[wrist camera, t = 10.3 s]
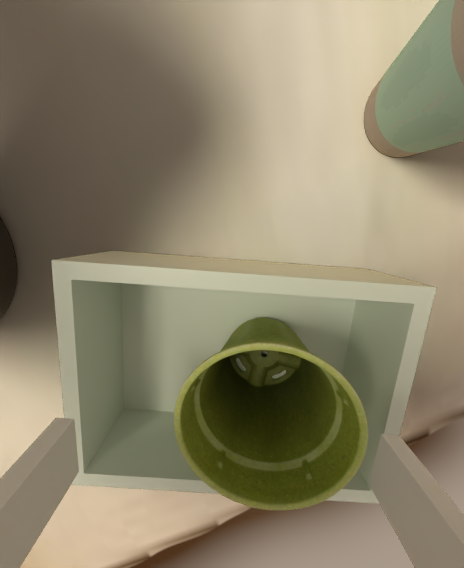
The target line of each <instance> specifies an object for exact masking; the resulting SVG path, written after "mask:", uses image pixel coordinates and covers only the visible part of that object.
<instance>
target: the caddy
mask: <svg viewBox="0 0 464 568" xmlns="http://www.w3.org/2000/svg"><path fill="white" fill-rule="evenodd" d="M51 264H52V277H53V289H54V301H55V313H56V325H57V337H58V350H59V362H60V374H61V386H62V398H63V411H64V418H68V419H75V431H76V442H77V454H78V466H79V472H78V474H77V476H76V477H75V479H74V480H73V482H72V484H71V485H81V486H97V487H114V488H131V489H147V490H164V491H180V492H197V493H214V494H220V493H218V492H217V491H216V490H213V489H212V488H210V487H209V486H208V485H207V484H206V483H204V482H203V481H202V480H201V479H200V478H199V477H198V476H197V475H196V473H195V472H194V471H193V470H192V469H191V467H190V466H189V464H188V462H187V461H186V460H185V458H184V456H183V455H182V453H181V450H180V448H179V446H178V443H177V440H176V436H175V431H174V410H175V405H176V401H177V398H178V395H179V392H180V390H181V388H182V386H183V384H184V383H185V381H186V380H187V378H188V377H189V376H190V374H191V373H192V372H193V371H194V370H195V369H196V368H197V367H198V366H199V365H200V364H201V363H202V362H203V361H205V360H206V359H208V358H209V357H211V356H212V355H214V354H216V353H218V352H220V351H221V349H222V348H223V346H224V345H225V343H226V342H227V341H228V339H229V338H230V336H231V335H232V334H233V332H234V331H235V330H236V329H237V328H238V327H239V326H240V325H241V324H243V323H244V322H246V321H248V320H251V319H255V318H262V317H263V318H270V319H274V320H278V321H281V322H283V323H285V324H286V325H288V326H289V327H290V328H291V329H292V330H293V331H294V332H295V333H296V335H297V336H298V337H299V339H300V340H301V341H302V343H303V344H304V345H305V346H306V348H307V349H308V350H309V352H310V353H313V354H314V355H316V356H318V357H320V358H322V359H323V360H325V361H326V362H328V363H329V364H330V365H332V366H333V367H334V368H335V369H337V370H338V371H339V372H340V373H341V374H342V375H343V376H344V377H345V378H346V379H347V381H348V382H349V383H350V385H351V386H352V387H353V389H354V390H355V392H356V393H357V395H358V397H359V399H360V401H361V403H362V406H363V408H364V411H365V414H366V418H367V423H368V443H367V448H366V453H365V456H364V458H363V461H362V464H361V466H360V467H359V469H358V471H357V472H356V474H355V475H354V477H353V478H352V479H351V480H350V481H349V482H348V483H347V485H346V486H345V487H343V488H342V489H341V490H340V491H339V492H337V493H336V494H335V495H334V496H332V497H330V498H329V499H327V500H331V501H346V502H363V503H379V502H378V500H377V498H376V496H375V494H374V493H373V491H372V489H371V487H370V485H369V482H370V478H371V474H372V470H373V466H374V462H375V458H376V454H377V450H378V446H379V442H380V438H381V434H389V435H399V436H400V432H401V428H402V424H403V420H404V416H405V412H406V408H407V404H408V400H409V396H410V392H411V388H412V384H413V380H414V376H415V372H416V368H417V364H418V360H419V356H420V352H421V348H422V344H423V340H424V336H425V332H426V328H427V324H428V320H429V316H430V312H431V308H432V304H433V301H434V297H435V293H436V289H437V287H433V286H429V285H426V284H422V283H418V282H414V281H411V280H407V279H403V278H399V277H396V276H392V275H388V274H384V273H381V272H377V271H373V270H369V269H361V268H347V267H333V266H319V265H305V264H291V263H277V262H263V261H249V260H236V259H222V258H208V257H194V256H180V255H166V254H152V253H138V252H124V251H109V252H102V253H95V254H88V255H81V256H75V257H68V258H61V259H54V260H51ZM261 355H262V356H263V357H266V356H267V355H268V353H267V352H266V351H264V352H262V353H261ZM236 362H237V364H238V366H239V368H240V369H241V370H243V371H246V368H245V367H244V366H243V365H242V363H241V361H240V359H239V358H236ZM285 373H286V370H284V371H283V372H281V373H279V374H276V375H274V376H272V378H275V379H276V378H279V377H281V376H283V375H284V374H285Z"/></svg>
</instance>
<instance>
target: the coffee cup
mask: <svg viewBox="0 0 464 568" xmlns="http://www.w3.org/2000/svg"><path fill="white" fill-rule="evenodd" d="M364 126H365V131H366V134H367V137H368V139H369V141H370V142H371V144H372V145H373V146H374V147H375V148H376V149H377V150H378V151H379V152H381V153H383V154H385V155H387V156H391V157H406V156H410V155H414V154H417V153H421V152H425V151H429V150H433V149H436V148H440V147H444V146H447V145H451V144H455V143H458V142H462V141H464V0H439V1H438V3H437V4H436V5H435V7H434V8H433V9H432V11H431V12H430V14H429V15H428V16H427V18H426V19H425V20H424V22H423V23H422V24H421V26H420V27H419V28H418V30H417V31H416V32H415V34H414V35H413V36H412V38H411V39H410V40H409V42H408V43H407V44H406V46H405V47H404V48H403V50H402V51H401V53H400V54H399V55H398V57H397V58H396V59H395V61H394V62H393V63H392V65H391V66H390V67H389V69H388V70H387V71H386V73H385V74H384V76H383V77H382V78H381V80H380V81H379V82H378V84H377V85H376V86H375V88H374V89H373V91H372V92H371V94H370V96H369V98H368V101H367V103H366V107H365V112H364Z"/></svg>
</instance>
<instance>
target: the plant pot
mask: <svg viewBox="0 0 464 568" xmlns="http://www.w3.org/2000/svg"><path fill="white" fill-rule="evenodd" d="M264 351H266V352H267V353H268V355H267V356H266V357H263V356H262V355H261V353H262V352H264ZM236 358H239V359H240V361H241V363H242V365H243V366H244V367H245V368H246V371H243V370H241V369H240V368H239V366H238V364H237V362H236ZM284 370H286V373H285V374H284V375H283V376H281V377H279V378H276V379H275V378H272V376H274V375H276V374H279V373H281V372H283V371H284ZM174 431H175V436H176V440H177V443H178V446H179V448H180V450H181V453H182V455H183V456H184V458H185V460H186V461H187V462H188V464H189V466H190V467H191V469H192V470H193V471H194V472H195V473H196V475H197V476H198V477H199V478H200V479H201V480H202V481H203V482H204V483H206V484H207V485H208V486H209V487H210V488H212V489H213V490H216V491H217V492H218V493H220V494H221V495H223V496H225V497H227V498H229V499H231V500H233V501H235V502H238V503H241V504H244V505H246V506H249V507H254V508H259V509H266V510H292V509H300V508H306V507H309V506H312V505H315V504H317V503H320V502H322V501H325V500H327V499H329V498H330V497H332V496H334V495H335V494H336V493H337V492H339V491H340V490H341V489H342V488H343V487H345V486H346V485H347V483H348V482H349V481H350V480H351V479H352V478H353V477H354V475H355V474H356V472H357V471H358V469H359V467H360V466H361V464H362V461H363V458H364V456H365V453H366V448H367V443H368V423H367V418H366V414H365V411H364V408H363V406H362V403H361V401H360V399H359V397H358V395H357V393H356V392H355V390H354V389H353V387H352V386H351V385H350V383H349V382H348V381H347V379H346V378H345V377H344V376H343V375H342V374H341V373H340V372H339V371H338V370H337V369H335V368H334V367H333V366H332V365H330V364H329V363H328V362H326V361H325V360H323V359H322V358H320V357H318V356H316V355H314V354H313V353H310V352H309V350H308V349H307V348H306V346H305V345H304V344H303V343H302V341H301V340H300V339H299V337H298V336H297V335H296V333H295V332H294V331H293V330H292V329H291V328H290V327H289V326H288V325H286V324H285V323H283V322H281V321H278V320H274V319H270V318H263V317H262V318H255V319H251V320H248V321H246V322H244V323H243V324H241V325H240V326H239V327H238V328H237V329H236V330H235V331H234V332H233V334H232V335H231V336H230V338H229V339H228V341H227V342H226V343H225V345H224V346H223V348H222V349H221V351H220V352H218V353H216V354H214V355H212V356H211V357H209V358H208V359H206V360H205V361H203V362H202V363H201V364H200V365H199V366H198V367H197V368H196V369H195V370H194V371H193V372H192V373H191V374H190V376H189V377H188V378H187V380H186V381H185V383H184V384H183V386H182V388H181V390H180V392H179V395H178V398H177V401H176V405H175V410H174Z"/></svg>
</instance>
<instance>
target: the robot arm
mask: <svg viewBox="0 0 464 568" xmlns="http://www.w3.org/2000/svg"><path fill="white" fill-rule="evenodd" d="M15 285H16V259H15V253H14V249H13V245H12V242H11V239H10V237H9V234H8V232H7V230H6V227H5V225H4V224H3V222H2V220H1V218H0V318H1V317H2V316H3V314H4V313H5V311H6V310H7V308H8V306H9V304H10V302H11V300H12V297H13V294H14V290H15ZM78 472H79V466H78V454H77V442H76V431H75V419H68V418H55V419H54V420H53V422H52V423H51V424H50V425H49V426H48V427H47V428H46V429H45V430H44V431H43V433H42V434H41V435H40V436H39V437H38V438H37V439H36V440H35V441H34V442H33V443H32V445H31V446H30V447H29V448H28V449H27V450H26V451H25V452H24V453H23V454H22V456H21V457H20V458H19V459H18V460H17V461H16V462H15V463H14V464H13V465H12V466H11V468H10V469H9V470H8V471H7V472H6V473H5V474H4V475H3V476H2V477H1V479H0V568H20V566H21V565H22V563H23V562H24V560H25V558H26V557H27V555H28V553H29V552H30V550H31V549H32V547H33V545H34V544H35V542H36V540H37V539H38V537H39V536H40V534H41V532H42V531H43V529H44V528H45V526H46V524H47V523H48V521H49V519H50V518H51V516H52V515H53V513H54V511H55V510H56V508H57V506H58V505H59V503H60V502H61V500H62V498H63V497H64V495H65V493H66V492H67V490H68V489H69V487H70V485H71V484H72V482H73V480H74V479H75V477H76V476H77V474H78ZM369 485H370V487H371V489H372V491H373V493H374V494H375V496H376V498H377V500H378V502H379V503H380V505H381V507H382V509H383V511H384V513H385V514H386V516H387V518H388V520H389V522H390V524H391V525H392V527H393V529H394V531H395V533H396V534H397V536H398V538H399V540H400V541H401V544H402V545H403V547H404V549H405V551H406V553H407V555H408V556H409V558H410V560H411V562H412V564H413V565H414V567H415V568H464V514H463V513H462V511H461V510H460V509H459V508H458V506H457V505H456V504H455V503H454V502H453V500H452V499H451V498H450V497H449V496H448V494H447V493H446V492H445V491H444V490H443V488H442V487H441V486H440V485H439V483H438V482H437V481H436V480H435V479H434V477H433V476H432V475H431V474H430V473H429V471H428V470H427V469H426V468H425V466H424V465H423V464H422V463H421V462H420V461H419V459H418V458H417V457H416V456H415V454H414V453H413V452H412V451H411V450H410V448H409V447H408V446H407V445H406V443H405V442H404V441H403V440H402V439H401V437H400V436H399V435H389V434H381V438H380V442H379V446H378V450H377V454H376V458H375V462H374V466H373V470H372V474H371V478H370V482H369Z"/></svg>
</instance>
